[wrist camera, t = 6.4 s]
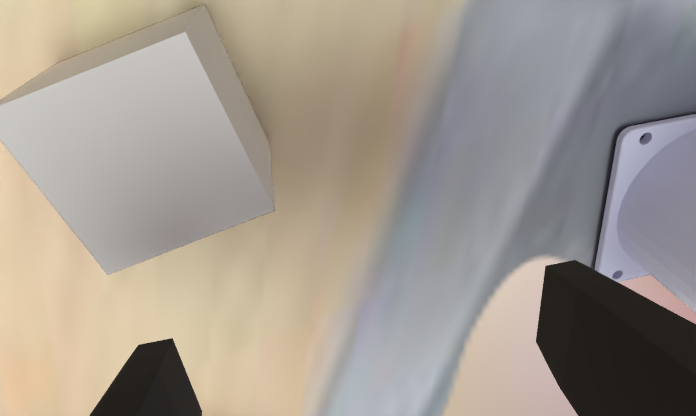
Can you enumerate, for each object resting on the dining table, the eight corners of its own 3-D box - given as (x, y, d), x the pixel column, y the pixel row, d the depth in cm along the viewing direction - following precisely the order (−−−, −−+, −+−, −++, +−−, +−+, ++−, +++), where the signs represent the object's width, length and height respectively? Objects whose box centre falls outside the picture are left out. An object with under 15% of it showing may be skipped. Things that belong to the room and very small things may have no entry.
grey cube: (204, 3, 15) (184, 31, 11) (269, 143, 18) (274, 210, 13) (56, 62, 15) (-22, 113, 11) (143, 192, 18) (107, 275, 13)
